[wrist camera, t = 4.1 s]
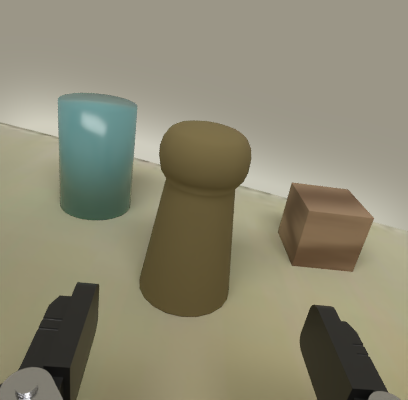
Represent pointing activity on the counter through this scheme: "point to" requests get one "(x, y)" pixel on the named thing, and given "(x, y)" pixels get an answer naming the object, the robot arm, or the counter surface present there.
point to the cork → (195, 218)
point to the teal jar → (96, 154)
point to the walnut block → (323, 227)
